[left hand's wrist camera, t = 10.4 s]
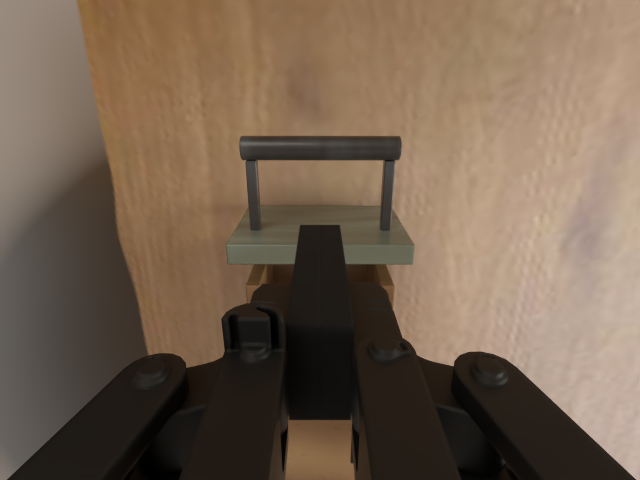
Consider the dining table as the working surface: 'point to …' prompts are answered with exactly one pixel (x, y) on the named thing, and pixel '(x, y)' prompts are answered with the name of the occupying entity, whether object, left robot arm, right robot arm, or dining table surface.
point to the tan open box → (319, 450)
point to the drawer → (320, 214)
